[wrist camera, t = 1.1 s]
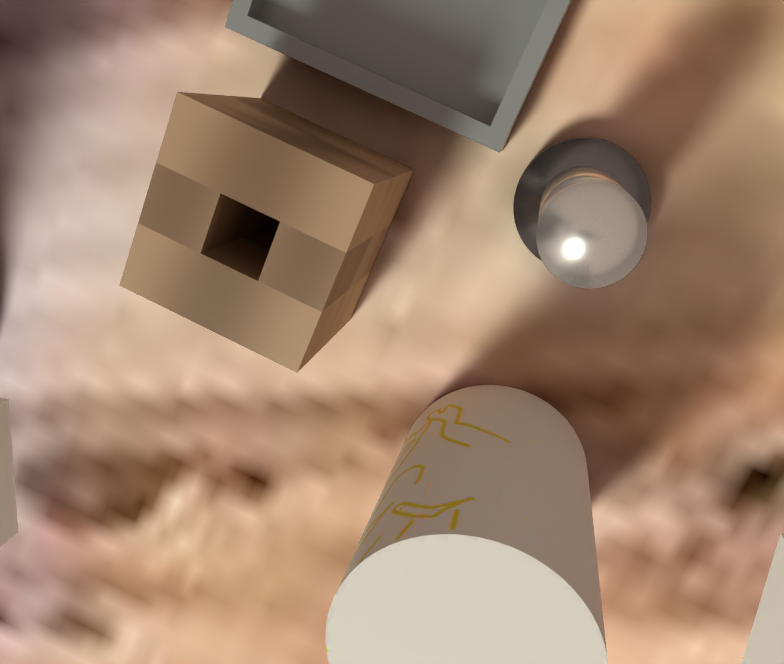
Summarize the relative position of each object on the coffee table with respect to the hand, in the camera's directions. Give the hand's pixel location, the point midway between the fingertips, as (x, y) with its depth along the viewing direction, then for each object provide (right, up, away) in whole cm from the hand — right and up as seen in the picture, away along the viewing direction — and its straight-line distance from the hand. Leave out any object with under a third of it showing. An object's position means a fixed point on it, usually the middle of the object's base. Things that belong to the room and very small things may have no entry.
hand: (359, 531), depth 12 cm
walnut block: (-3, +8, +18) cm, 20 cm away
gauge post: (+8, +8, +16) cm, 20 cm away
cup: (+5, -3, +20) cm, 21 cm away
